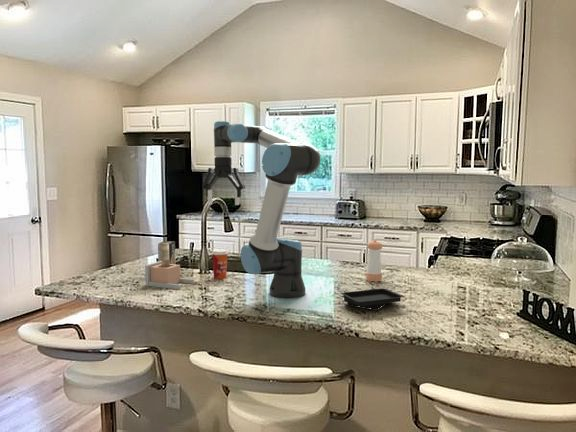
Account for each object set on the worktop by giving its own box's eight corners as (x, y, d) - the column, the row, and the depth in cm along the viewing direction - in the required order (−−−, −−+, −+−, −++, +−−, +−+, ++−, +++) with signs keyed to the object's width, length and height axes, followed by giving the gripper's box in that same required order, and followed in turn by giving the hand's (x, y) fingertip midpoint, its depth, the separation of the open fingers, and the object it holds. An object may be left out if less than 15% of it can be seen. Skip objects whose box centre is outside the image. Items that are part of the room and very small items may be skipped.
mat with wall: (206, 281, 218) (205, 260, 217) (181, 292, 199) (180, 268, 198) (171, 278, 225) (171, 257, 224) (144, 287, 206) (143, 265, 205)
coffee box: (171, 277, 227) (170, 243, 225) (158, 276, 227) (157, 243, 225) (176, 272, 236) (175, 240, 234) (163, 272, 236) (162, 240, 234)
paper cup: (219, 282, 216) (219, 252, 215) (208, 280, 221) (208, 250, 220) (231, 279, 222) (231, 250, 221) (220, 277, 227) (220, 248, 226)
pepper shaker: (380, 278, 227) (382, 239, 225) (382, 282, 219) (383, 241, 217) (365, 278, 227) (366, 238, 225) (366, 281, 220) (367, 241, 218)
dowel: (171, 274, 210) (170, 243, 208) (166, 275, 206) (165, 244, 205) (164, 273, 211) (163, 242, 209) (160, 275, 208) (159, 243, 206)
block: (180, 282, 211) (180, 264, 211) (168, 287, 203) (167, 268, 202) (163, 280, 215) (163, 263, 214) (151, 285, 206) (150, 267, 206)
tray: (353, 293, 201) (353, 281, 200) (409, 299, 192) (409, 286, 191) (333, 312, 173) (333, 298, 172) (397, 320, 164) (397, 306, 164)
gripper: (252, 156, 209) (252, 204, 211) (202, 157, 217) (203, 203, 219) (244, 156, 202) (245, 205, 204) (194, 157, 210) (194, 204, 212)
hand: (223, 204), depth 211 cm, fingers open, 13 cm apart
